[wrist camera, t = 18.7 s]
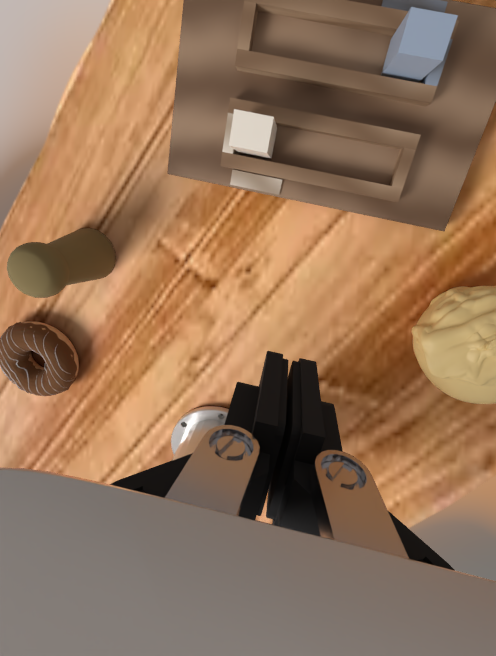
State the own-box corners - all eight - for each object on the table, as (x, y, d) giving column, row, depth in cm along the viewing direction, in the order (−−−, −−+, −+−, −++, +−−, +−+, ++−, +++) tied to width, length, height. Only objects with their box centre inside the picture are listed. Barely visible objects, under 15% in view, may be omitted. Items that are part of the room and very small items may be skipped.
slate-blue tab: (417, 82, 30) (442, 60, 25) (380, 75, 30) (398, 52, 25) (429, 45, 29) (457, 15, 24) (391, 38, 29) (411, 6, 24)
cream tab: (271, 158, 34) (266, 153, 28) (238, 152, 34) (228, 145, 29) (277, 128, 33) (273, 116, 28) (243, 121, 33) (234, 109, 28)
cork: (65, 224, 41) (-10, 234, 31) (115, 232, 40) (55, 246, 30) (68, 274, 43) (-2, 300, 33) (115, 282, 43) (59, 311, 33)
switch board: (436, 229, 36) (450, 232, 33) (173, 174, 37) (162, 173, 34) (515, 25, 30) (541, 5, 27) (194, -33, 31) (183, -58, 28)
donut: (89, 331, 46) (71, 343, 42) (81, 396, 50) (64, 412, 46) (12, 305, 46) (-13, 316, 42) (10, 372, 50) (-13, 387, 46)
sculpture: (492, 253, 36) (566, 277, 26) (527, 347, 39) (606, 400, 29) (385, 304, 40) (416, 342, 30) (426, 387, 43) (466, 447, 33)
